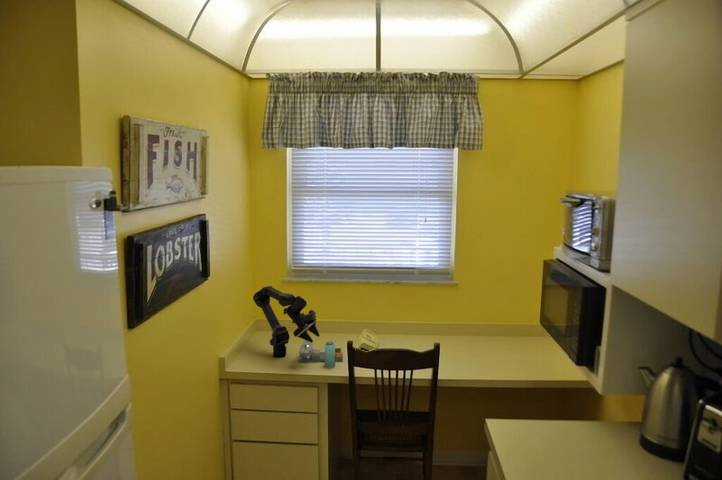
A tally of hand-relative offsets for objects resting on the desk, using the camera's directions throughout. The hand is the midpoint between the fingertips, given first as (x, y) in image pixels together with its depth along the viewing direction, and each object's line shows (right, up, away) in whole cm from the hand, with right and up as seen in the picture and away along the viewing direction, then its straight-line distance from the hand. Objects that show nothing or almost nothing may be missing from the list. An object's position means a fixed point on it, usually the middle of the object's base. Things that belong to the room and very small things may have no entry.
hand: (315, 339), depth 263 cm
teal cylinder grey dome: (+7, -14, -1) cm, 15 cm away
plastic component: (+27, -10, +28) cm, 40 cm away
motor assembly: (+2, -12, +9) cm, 15 cm away
